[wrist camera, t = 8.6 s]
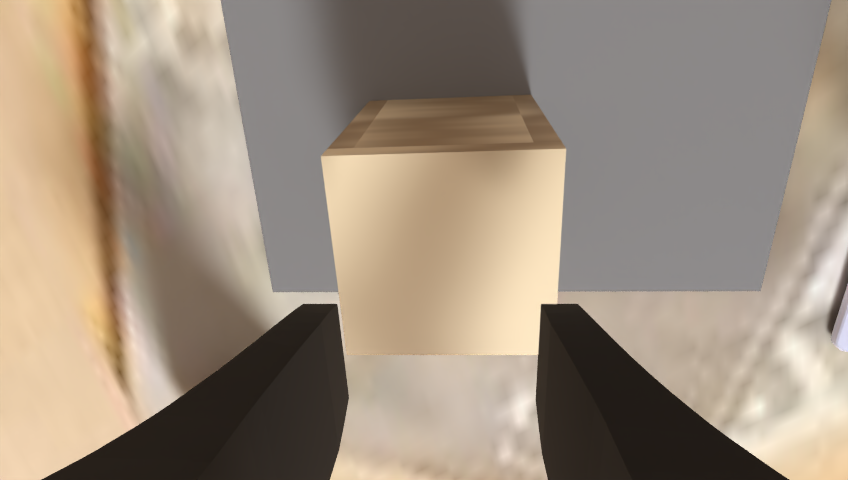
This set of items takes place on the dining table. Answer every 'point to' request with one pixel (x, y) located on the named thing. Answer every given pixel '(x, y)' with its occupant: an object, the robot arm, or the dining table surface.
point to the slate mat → (549, 119)
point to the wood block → (446, 225)
